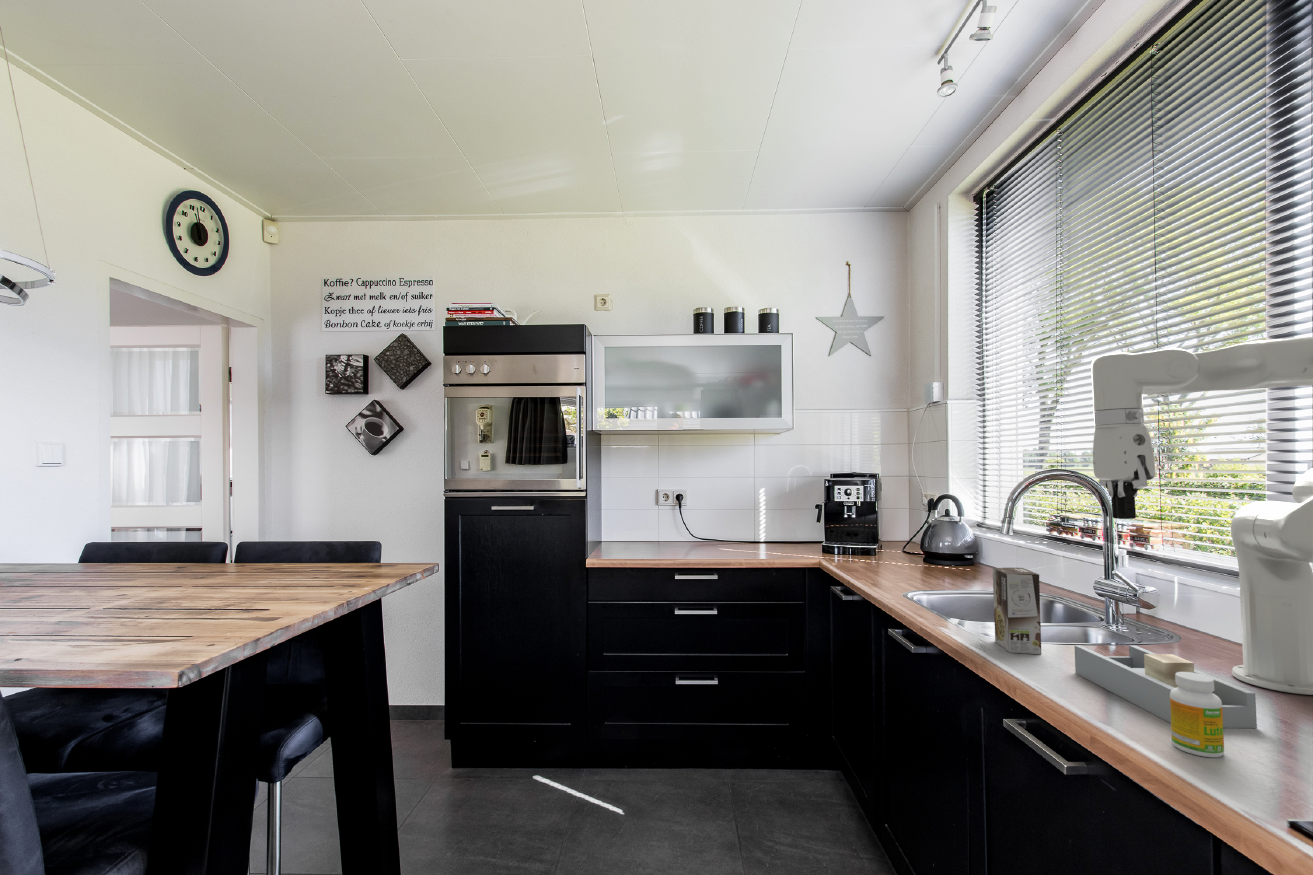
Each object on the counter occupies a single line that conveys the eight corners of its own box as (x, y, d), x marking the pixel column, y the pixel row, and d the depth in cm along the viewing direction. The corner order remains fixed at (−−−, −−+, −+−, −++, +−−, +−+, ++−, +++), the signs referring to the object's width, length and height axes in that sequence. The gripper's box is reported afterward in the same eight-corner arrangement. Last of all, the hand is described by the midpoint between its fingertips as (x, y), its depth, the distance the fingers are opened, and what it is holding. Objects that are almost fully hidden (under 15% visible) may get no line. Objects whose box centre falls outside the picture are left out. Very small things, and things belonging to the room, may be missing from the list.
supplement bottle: (1210, 761, 81) (1207, 685, 82) (1162, 744, 86) (1160, 672, 86) (1233, 753, 83) (1229, 679, 84) (1185, 737, 88) (1182, 667, 89)
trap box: (1136, 672, 115) (1135, 645, 115) (1257, 727, 91) (1255, 693, 91) (1075, 672, 116) (1074, 645, 116) (1179, 727, 92) (1177, 692, 92)
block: (1173, 681, 102) (1171, 654, 102) (1195, 691, 98) (1193, 662, 98) (1145, 681, 102) (1144, 654, 102) (1165, 691, 98) (1164, 662, 98)
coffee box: (1043, 654, 126) (1040, 574, 127) (1008, 653, 128) (1006, 573, 128) (1026, 642, 135) (1023, 566, 136) (993, 640, 137) (991, 566, 137)
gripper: (1171, 416, 110) (1177, 521, 109) (1110, 422, 125) (1115, 514, 124) (1128, 417, 110) (1134, 522, 109) (1072, 423, 125) (1077, 515, 124)
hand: (1124, 518), depth 117 cm, fingers closed
